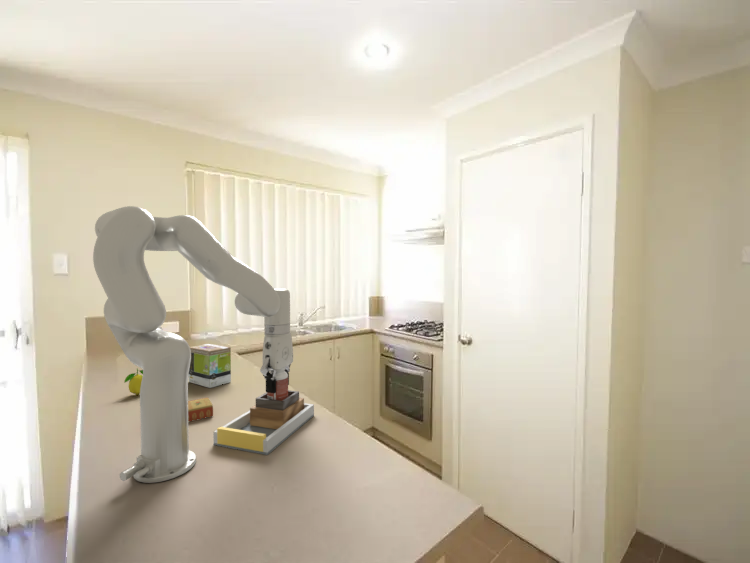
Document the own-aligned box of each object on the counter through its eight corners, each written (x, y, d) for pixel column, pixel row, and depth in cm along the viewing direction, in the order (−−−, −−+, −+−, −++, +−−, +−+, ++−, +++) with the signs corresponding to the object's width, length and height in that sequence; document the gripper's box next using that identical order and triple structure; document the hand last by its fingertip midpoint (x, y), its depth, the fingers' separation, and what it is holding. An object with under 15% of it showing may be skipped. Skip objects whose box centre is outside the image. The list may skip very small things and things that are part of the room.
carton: (213, 417, 111) (213, 404, 110) (153, 431, 102) (152, 416, 101) (208, 409, 118) (208, 396, 117) (151, 420, 108) (151, 406, 108)
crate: (283, 430, 99) (283, 404, 99) (250, 425, 103) (249, 399, 102) (303, 413, 111) (303, 390, 111) (273, 409, 114) (273, 386, 114)
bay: (267, 455, 88) (267, 436, 88) (213, 445, 93) (213, 427, 92) (313, 415, 112) (313, 401, 111) (269, 409, 116) (269, 395, 116)
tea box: (231, 382, 145) (231, 346, 144) (209, 389, 136) (208, 351, 136) (210, 376, 153) (209, 342, 152) (187, 382, 144) (187, 346, 144)
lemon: (152, 392, 132) (152, 366, 132) (140, 398, 126) (140, 370, 126) (136, 391, 133) (135, 365, 133) (123, 397, 127) (123, 369, 127)
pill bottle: (290, 397, 110) (290, 362, 109) (285, 405, 104) (285, 368, 103) (270, 398, 110) (269, 362, 109) (264, 405, 103) (264, 368, 103)
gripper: (271, 335, 97) (271, 400, 97) (302, 325, 113) (302, 381, 114) (248, 333, 99) (248, 397, 99) (282, 324, 115) (282, 379, 116)
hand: (277, 388), depth 106 cm, fingers closed on pill bottle, 6 cm apart
